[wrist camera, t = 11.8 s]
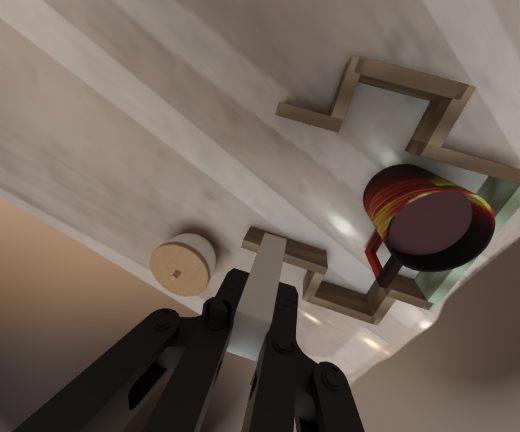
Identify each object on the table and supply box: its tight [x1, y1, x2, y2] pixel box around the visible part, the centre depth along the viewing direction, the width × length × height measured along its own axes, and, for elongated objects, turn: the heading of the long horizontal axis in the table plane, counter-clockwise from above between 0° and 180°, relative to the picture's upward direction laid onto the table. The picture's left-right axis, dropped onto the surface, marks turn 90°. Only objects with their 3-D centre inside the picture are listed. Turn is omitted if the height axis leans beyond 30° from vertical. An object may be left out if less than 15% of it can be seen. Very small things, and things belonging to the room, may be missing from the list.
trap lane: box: [241, 56, 520, 326], centre depth 34 cm, size 34×31×5 cm
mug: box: [363, 164, 496, 289], centre depth 30 cm, size 10×14×12 cm
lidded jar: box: [150, 233, 216, 296], centre depth 41 cm, size 11×11×9 cm
